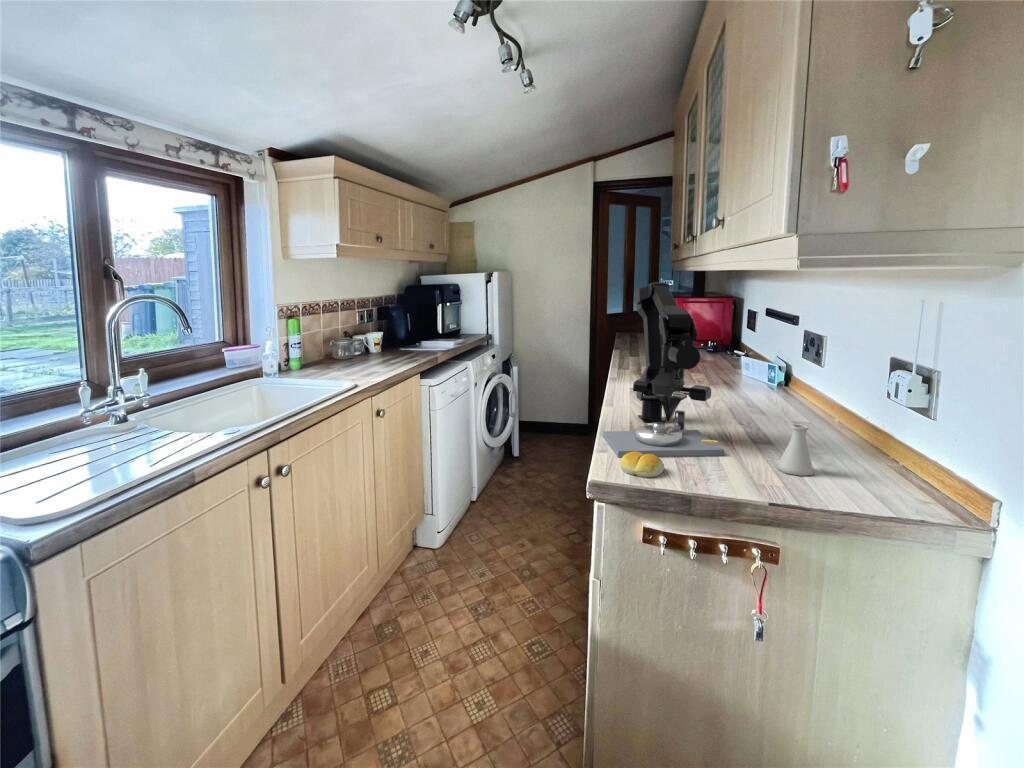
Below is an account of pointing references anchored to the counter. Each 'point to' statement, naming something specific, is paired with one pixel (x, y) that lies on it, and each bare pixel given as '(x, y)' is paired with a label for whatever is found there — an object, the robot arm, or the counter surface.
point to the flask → (796, 454)
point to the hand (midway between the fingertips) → (668, 421)
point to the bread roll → (642, 464)
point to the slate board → (689, 446)
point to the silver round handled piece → (662, 432)
